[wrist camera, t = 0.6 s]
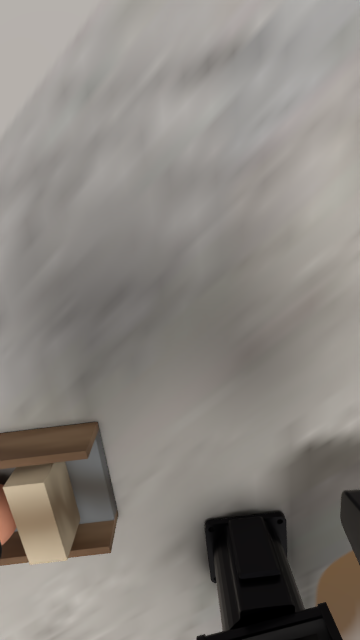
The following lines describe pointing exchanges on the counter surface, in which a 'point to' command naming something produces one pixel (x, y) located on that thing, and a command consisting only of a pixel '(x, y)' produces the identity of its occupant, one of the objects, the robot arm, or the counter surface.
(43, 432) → the brown wooden tray
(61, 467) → the tan wooden brick
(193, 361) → the counter surface
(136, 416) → the counter surface
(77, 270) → the counter surface
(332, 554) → the counter surface
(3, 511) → the ball
